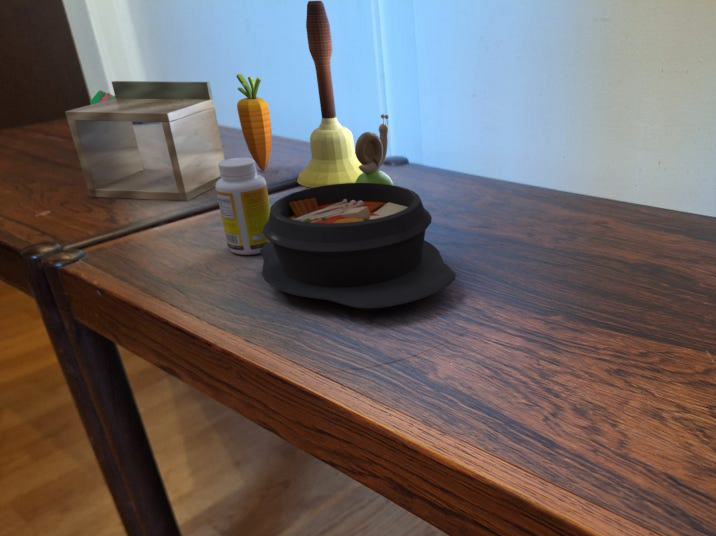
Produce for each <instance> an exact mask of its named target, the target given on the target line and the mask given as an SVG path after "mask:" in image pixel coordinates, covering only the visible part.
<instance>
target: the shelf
mask: <svg viewBox="0 0 716 536" xmlns="http://www.w3.org/2000/svg"><path fill="white" fill-rule="evenodd" d="M111 86H112V90H113V93H114V95H115V97H116V99H112V100H108V101H104V102H100V103H96V104H92V105H91V104H89V105H84V106H81V107H76V108H73V109H69V110H66V111H64V113H65V116H66V120H67V123H68V126H69V130H70V133H71V137H72V141H73V143H74V147H75V150H76V154H77V156H78V160H79V163H80V168H81V171H82V174H83V177H84V181H85V184H86V188H87V190H88V194H89V197H90V198H105V199H106V198H107V199H108V198H109V199H128V200H129V199H133V200H153V201H180V202H188V201H190V200H192V199H193V198H196V197H198V196H200V195H201V194H204V193H205V192H207V191H209V190H211V189H213V188H214V187H215V184H216V182H217V181H218V180H219V179H221V177H220V171H219V166H218V164H219V162H221V161H223V160H226V159H225V154H224V149H223V143H222V138H221V133H220V128H219V122H218V117H217V113H216V108H215V103H214V97H213V92H212V88H211V82H210V81H169V80H168V81H161V80H160V81H158V80H156V81H155V80H153V81H152V80H148V81H147V80H144V81H143V80H113V81H111ZM133 122H138V123H141V122H143V123H161V125H162V129H163V133H164V134H163V135H164V138H165V142H166V146H167V150H168V151H167V152H168V155H169V160H170V164H171V168H172V169H155V168H154V169H152V168H151V169H149V168H144V165H143V160H142V156H141V152H140V149H139V145H138V141H137V137H136V133H135V129H134V124H133Z"/></svg>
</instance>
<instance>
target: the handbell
mask: <svg viewBox="0 0 716 536" xmlns="http://www.w3.org/2000/svg"><path fill="white" fill-rule="evenodd" d="M306 4H307V5H306V18H305V19H306V20H305V28H306V29H305V30H306V36H307V45H308V50H309V54H310V55H311V59H312V60H313V63H314V68H315V74H316V81H317V82H316V84H317V90H318V99H319V105H320V106H319V107H320V113H321V114H320V115H321V121H320V124H319V126H318V127H316V128H314V130H312V132H311V134H310V136H309V144H310V145H309V146H310V153H311V158H310V160H309V163H308V164H307V166H306V167H305V168H304V169H303V170H302V171H301V172H300V173H299V174H298V176H297V178H296V179H297V180H296V183H298V185H301V186H302V187H306V188H314V187H320V186H326V185H333V184H344V183H355V181H356V179H357V178H358V177H359V175H360V174H362V173H363V172H362V171H361V170H360V169H359V166H360V165H362V164H361V163H360V162H359V161H358V159H357V157H356V154H355V141H354V135H353V133H352V131H351V130H350V129H349V128H347V127H346V126H342V124H341V123H340V122H339V120H338V118H337V113H336V104H335V95H334V88H333V78H332V70H331V69H332V67H331V63H332V61H331V59H332V54H333V42H332V41H333V40H332V32H331V26H330V21H329V18H328V14H327V11H326V7H325V5H324V2H323V1H322V0H308V2H307V3H306Z"/></svg>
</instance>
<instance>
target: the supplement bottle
mask: <svg viewBox="0 0 716 536" xmlns="http://www.w3.org/2000/svg"><path fill="white" fill-rule="evenodd" d="M218 166H219V171H220V177H221V179H219V180H218V181H217V182H216V184H215V193H216V198H217V202H218V206H219V211H220V216H221V220H222V225H223V229H224V235H225V239H226V244H227V247H228V249H229V251H231V253H234V254H237V255H241V256H251V255H259V254H261V252H260V250H261V249H262V247H263V246H264V245H265V244H267V243H269V242H270V241H269V240H268V239H267V238H266V237H265V236H264V234H263V227H264V226H265V224H266V223H267V222H268V220H269V215H270V209H271V202H270V196H269V191H268V185H267V181H266V178H265V177H263V176H262V175H260V174H258V171H257V170H258V169H257V164H256V162H255V160H254V159H253V158H252V157H251V158H250V157H233V158H227V159H225V160H223V161H221V162H219V164H218Z"/></svg>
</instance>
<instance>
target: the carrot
mask: <svg viewBox="0 0 716 536" xmlns="http://www.w3.org/2000/svg"><path fill="white" fill-rule="evenodd" d="M236 78H237V80H238V81H239V83H240V85H241V86H242V87H243V88H242V87H237V91H239V92H240V93H241V94H243V95H244V96H245V97H244V98H241V99H239V100H238V101H237V103H236V110H237V114H238V118H239V124H240V128H241V132H242V135H243V139H244V141H245V144H246V146H247V149H248V151H249V154H250V155H251V158H252V159H254V160H255V164H256V166H257V167H258V168H259V169H260V170H261V171H263V172H264V171H265V170H266V169H267V168H268V165H269V162H270V158H271V154H272V153H271V152H272V123H271V115H270V107H269V104H268V102H267V101H266V100H265V99H263V98H262V97H257V96H258V95H257V94H258V90H259V87H260V84H261V81H262V79H261V77H260V76H257V77H256V79H255V80H254V77H252V76H248V77H247V79H246V78H245V77H244V75H243V74H242V73H237V74H236ZM247 80H248V81H247Z"/></svg>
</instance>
